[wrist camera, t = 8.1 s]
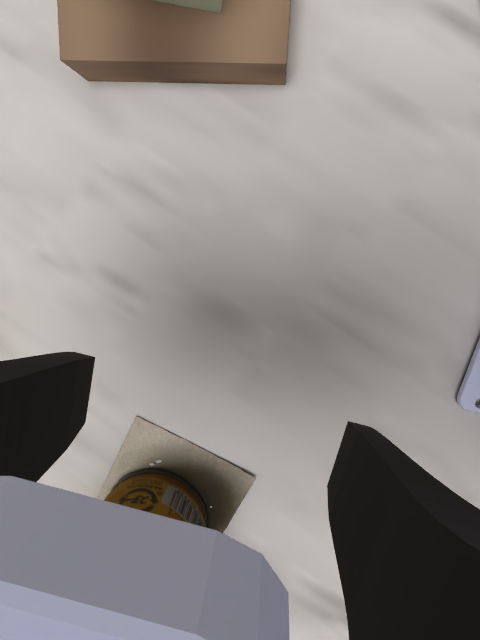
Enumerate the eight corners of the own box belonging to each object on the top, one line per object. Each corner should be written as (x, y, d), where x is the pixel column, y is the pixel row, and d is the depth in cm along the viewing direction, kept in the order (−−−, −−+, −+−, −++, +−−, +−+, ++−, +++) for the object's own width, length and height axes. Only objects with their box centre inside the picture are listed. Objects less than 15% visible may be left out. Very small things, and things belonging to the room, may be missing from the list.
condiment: (82, 529, 25) (-93, 800, 13) (137, 414, 23) (-12, 614, 11) (191, 583, 25) (114, 899, 13) (256, 474, 23) (232, 733, 11)
